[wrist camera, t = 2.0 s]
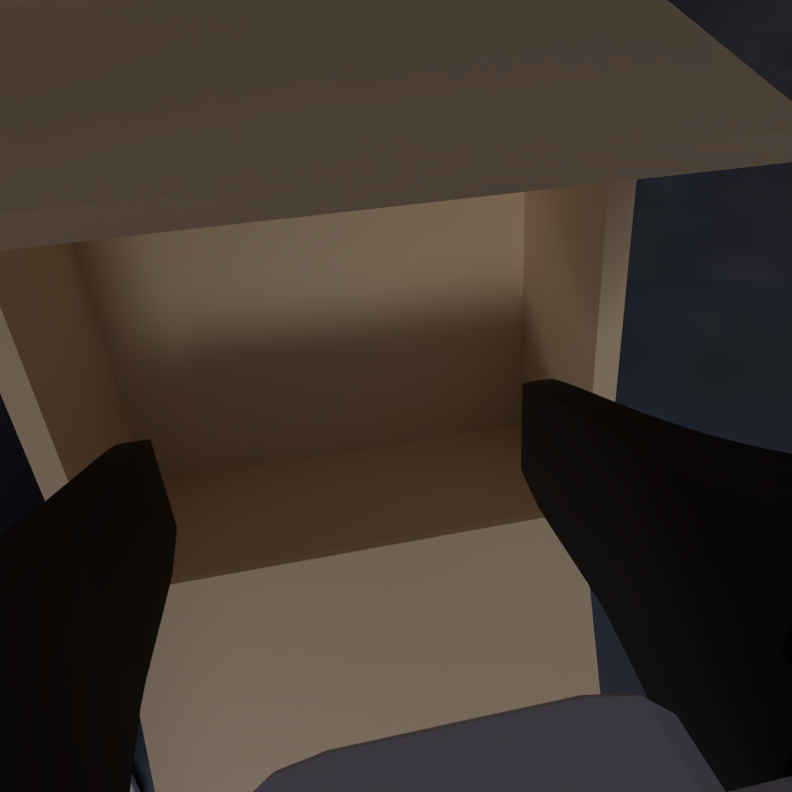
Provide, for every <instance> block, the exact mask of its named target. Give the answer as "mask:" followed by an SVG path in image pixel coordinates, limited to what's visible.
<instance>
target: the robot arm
mask: <svg viewBox="0 0 792 792" xmlns="http://www.w3.org/2000/svg"><path fill="white" fill-rule="evenodd" d="M521 470H522V472H523V475H524V477H525V479H526V482H527V484H528V486H529V488H530V491H531V493H532V495H533V497H534V499H535V501H536V503H537V505H538V507H539V509H540V511H541V512H542V514H543V516H544V517H545V519H546V520H547V522H548V523H549V525H550V527H551V528H552V530H553V531H554V533H555V534H556V536H557V537H558V539H559V541H560V542H561V544H562V545H563V547H564V548H565V550H566V551H567V553H568V554H569V556H570V557H571V559H572V560H573V562H574V563H575V565H576V566H577V568H578V569H579V571H580V572H581V574H582V575H583V577H584V579H585V580H586V582H587V583H588V585H589V586H590V588H591V589H592V591H593V592H594V594H595V596H596V597H597V599H598V601H599V602H600V604H601V606H602V607H603V609H604V611H605V612H606V614H607V616H608V618H609V620H610V622H611V624H612V626H613V628H614V630H615V632H616V634H617V636H618V638H619V640H620V642H621V644H622V646H623V648H624V650H625V652H626V654H627V656H628V657H629V660H630V662H631V664H632V666H633V668H634V670H635V672H636V674H637V676H638V678H639V681H640V683H641V685H642V687H643V689H644V691H645V693H646V695H647V697H648V699H647V698H645V697H643V696H641V695H635V694H596V695H579V696H574V697H570V698H565V699H561V700H556V701H551V702H547V703H542V704H538V705H533V706H528V707H524V708H519V709H514V710H510V711H505V712H501V713H496V714H491V715H487V716H482V717H478V718H473V719H468V720H464V721H459V722H455V723H450V724H445V725H441V726H436V727H432V728H427V729H422V730H418V731H413V732H409V733H404V734H399V735H395V736H390V737H386V738H381V739H376V740H372V741H367V742H363V743H358V744H353V745H349V746H344V747H340V748H335V749H330V750H327V751H324V752H322V753H319V754H317V755H314V756H312V757H309V758H307V759H304V760H302V761H299V762H297V763H294V764H292V765H289V766H287V767H284V768H282V769H279V770H277V771H274V772H273V773H272V774H271V775H270V776H269V777H268V778H266V779H265V780H264V781H263V782H262V783H261V784H260V785H259V786H258V787H257V788H256V789H255V790H254V791H253V792H792V454H791V453H786V452H781V451H775V450H770V449H765V448H760V447H756V446H751V445H747V444H742V443H738V442H735V441H731V440H727V439H723V438H719V437H716V436H712V435H708V434H704V433H701V432H698V431H694V430H691V429H688V428H685V427H682V426H679V425H676V424H673V423H670V422H667V421H664V420H661V419H658V418H656V417H653V416H650V415H647V414H645V413H642V412H639V411H637V410H634V409H632V408H629V407H627V406H624V405H622V404H619V403H616V402H614V401H612V400H609V399H607V398H604V397H602V396H599V395H597V394H594V393H592V392H589V391H587V390H584V389H582V388H579V387H577V386H574V385H571V384H569V383H566V382H563V381H560V380H556V379H545V380H538V381H532V382H525V383H523V386H522V442H521ZM176 533H177V525H176V522H175V519H174V515H173V512H172V509H171V506H170V502H169V499H168V496H167V492H166V489H165V486H164V482H163V479H162V476H161V473H160V469H159V466H158V463H157V459H156V456H155V453H154V450H153V446H152V443H151V440H150V439H147V440H141V441H134V442H127V443H121V444H116V445H114V446H113V447H111V448H110V449H108V450H107V451H106V452H104V453H103V454H102V455H100V456H99V457H98V458H97V459H95V460H94V461H93V462H92V463H91V464H89V465H88V466H87V467H86V468H85V469H83V470H82V471H81V472H80V473H79V474H77V475H76V476H75V477H74V478H73V479H71V480H70V481H69V482H68V483H67V484H65V485H64V486H63V487H62V488H61V489H59V490H58V491H57V492H56V493H55V494H53V495H52V496H51V497H50V498H49V499H47V500H46V501H45V502H44V503H42V504H41V505H40V506H39V507H37V508H36V509H35V510H33V511H32V512H31V513H29V514H28V515H27V516H26V517H24V518H23V519H22V520H20V521H19V522H18V523H16V524H15V525H14V526H12V527H11V528H10V529H8V530H7V531H6V532H5V533H3V534H2V535H1V536H0V792H140V790H139V788H138V786H137V783H136V781H135V779H134V777H133V774H132V769H133V761H134V753H135V746H136V738H137V731H138V724H139V716H140V709H141V703H142V698H143V693H144V688H145V684H146V679H147V675H148V671H149V667H150V663H151V659H152V655H153V651H154V647H155V643H156V639H157V635H158V631H159V627H160V623H161V619H162V616H163V612H164V607H165V603H166V599H167V595H168V591H169V587H170V583H171V578H172V574H173V566H174V556H175V545H176Z"/></svg>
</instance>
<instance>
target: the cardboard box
mask: <svg viewBox="0 0 792 792" xmlns="http://www.w3.org/2000/svg"><path fill="white" fill-rule="evenodd" d="M19 1H34V0H0V3H3V2H19ZM635 189H636V179H635V180H626V181H617V182H608V183H599V184H590V185H581V186H572V187H564V188H555V189H546V190H537V191H528V192H519V193H510V194H501V195H492V196H483V197H474V198H465V199H456V200H447V201H439V202H430V203H421V204H412V205H403V206H394V207H385V208H376V209H367V210H358V211H349V212H340V213H331V214H323V215H314V216H305V217H296V218H287V219H278V220H269V221H260V222H251V223H242V224H233V225H224V226H215V227H206V228H198V229H189V230H180V231H171V232H162V233H153V234H144V235H135V236H126V237H117V238H108V239H99V240H90V241H82V242H73V243H64V244H55V245H46V246H37V247H28V248H19V249H10V250H1V251H0V394H1V396H2V399H3V401H4V404H5V406H6V408H7V411H8V413H9V416H10V418H11V420H12V423H13V425H14V428H15V430H16V432H17V435H18V437H19V440H20V442H21V444H22V447H23V449H24V452H25V454H26V456H27V459H28V461H29V464H30V466H31V468H32V471H33V473H34V476H35V478H36V480H37V483H38V485H39V488H40V490H41V492H42V495H43V497H44V500H45V501H46V500H47V499H49V498H50V497H51V496H52V495H53V494H55V493H56V492H57V491H58V490H59V489H61V488H62V487H63V486H64V485H65V484H67V483H68V482H69V481H70V480H71V479H73V478H74V477H75V476H76V475H77V474H79V473H80V472H81V471H82V470H83V469H85V468H86V467H87V466H88V465H89V464H91V463H92V462H93V461H94V460H95V459H97V458H98V457H99V456H100V455H102V454H103V453H104V452H106V451H107V450H108V449H110V448H111V447H113V446H114V445H116V444H121V443H127V442H134V441H141V440H147V439H150V440H151V443H152V446H153V450H154V453H155V456H156V459H157V463H158V466H159V469H160V473H161V476H162V479H163V482H164V486H165V489H166V492H167V496H168V499H169V502H170V506H171V509H172V512H173V515H174V519H175V522H176V525H177V533H176V545H175V556H174V566H173V574H172V578H176V577H181V576H187V575H193V574H198V573H204V572H210V571H215V570H221V569H226V568H232V567H238V566H243V565H249V564H254V563H260V562H266V561H271V560H277V559H282V558H288V557H294V556H299V555H305V554H310V553H316V552H322V551H327V550H333V549H338V548H344V547H350V546H355V545H361V544H367V543H372V542H378V541H383V540H389V539H395V538H400V537H406V536H411V535H417V534H423V533H428V532H434V531H439V530H445V529H451V528H456V527H462V526H467V525H473V524H479V523H484V522H490V521H496V520H501V519H507V518H512V517H518V516H524V515H529V514H535V513H540V512H541V511H540V509H539V507H538V505H537V503H536V501H535V499H534V497H533V495H532V493H531V491H530V488H529V486H528V484H527V482H526V479H525V477H524V475H523V472H522V470H521V442H522V386H523V383H525V382H532V381H538V380H545V379H556V380H560V381H563V382H566V383H569V384H571V385H574V386H577V387H579V388H582V389H584V390H587V391H589V392H592V393H594V394H597V395H599V396H602V397H604V398H607V399H609V400H612V401H614V402H615V398H616V388H617V377H618V367H619V356H620V346H621V335H622V325H623V315H624V304H625V294H626V283H627V273H628V262H629V252H630V241H631V231H632V221H633V210H634V200H635Z"/></svg>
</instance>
